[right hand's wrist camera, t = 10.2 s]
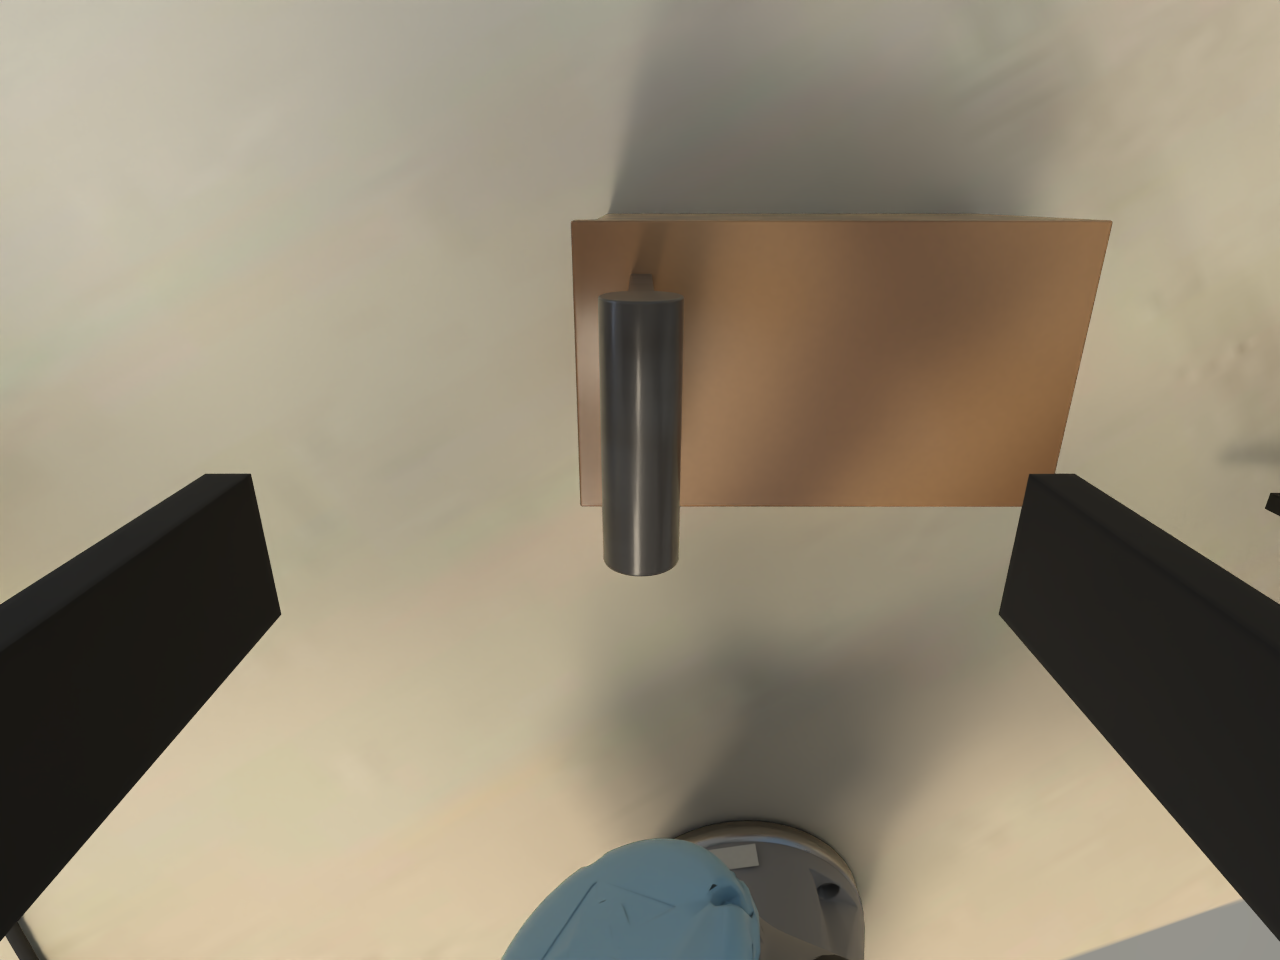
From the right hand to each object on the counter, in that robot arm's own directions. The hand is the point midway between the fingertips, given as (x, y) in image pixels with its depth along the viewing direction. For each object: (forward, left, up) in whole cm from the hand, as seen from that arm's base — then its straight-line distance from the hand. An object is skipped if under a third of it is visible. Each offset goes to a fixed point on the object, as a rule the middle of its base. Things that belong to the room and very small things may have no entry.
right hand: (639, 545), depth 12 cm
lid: (+2, -6, -14) cm, 15 cm away
